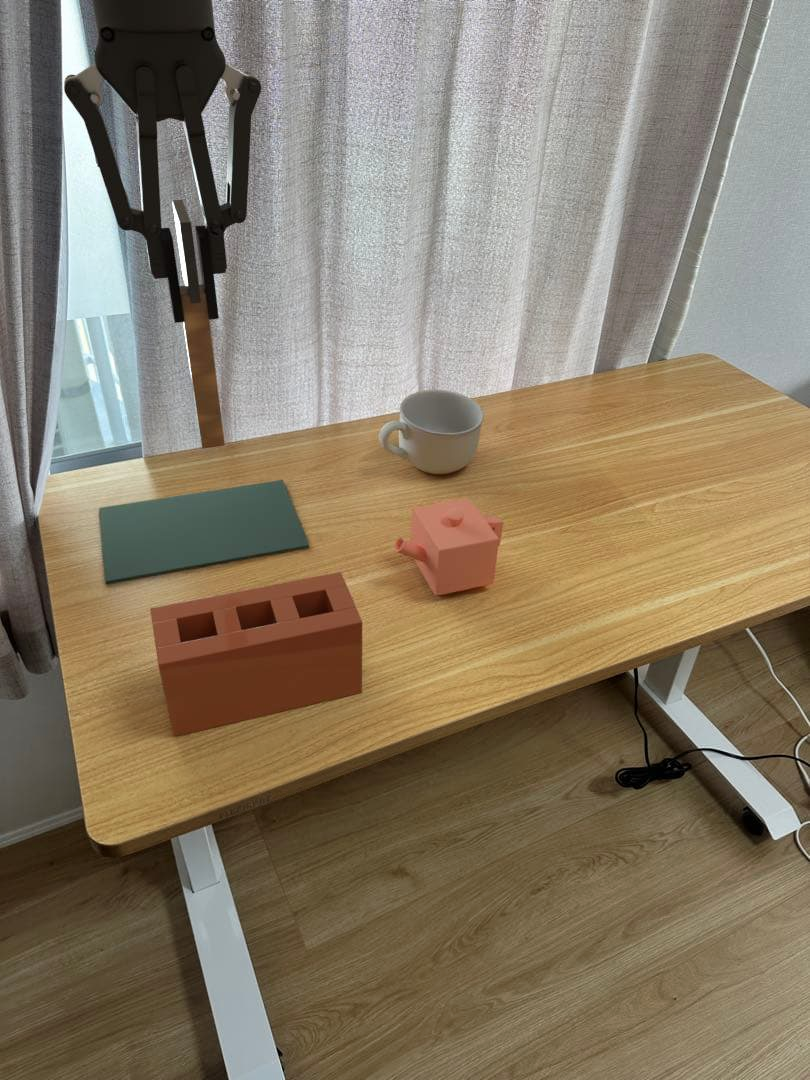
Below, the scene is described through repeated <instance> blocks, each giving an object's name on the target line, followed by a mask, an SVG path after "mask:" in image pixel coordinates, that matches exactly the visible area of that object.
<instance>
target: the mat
mask: <svg viewBox="0 0 810 1080" xmlns="http://www.w3.org/2000/svg"><path fill="white" fill-rule="evenodd" d="M98 510H99V521H100V522H99V523H100V533H101V535H100V536H101V544H102V545H101V547H102V548H101V549H102V559H103V568H104V569H103V571H104V583H105V585H108V584H115V583H120V582H126V581H131V580H137V579H142V578H148V577H154V576H159V575H165V574H171V573H176V572H181V571H187V570H192V569H199V568H205V567H210V566H216V565H220V564H227V563H232V562H237V561H243V560H248V559H253V558H259V557H265V556H271V555H275V554H282V553H287V552H293V551H299V550H305V549H309V548H310V543H309V541H308V538H307V536H306V533H305V531H304V529H303V526H302V524H301V521H300V519H299V516H298V514H297V511H296V509H295V507H294V504H293V501H292V499H291V497H290V494H289V491H288V489H287V486H286V484H285V482H284V480H283V479H277V480H271V481H267V482H266V481H265V482H259V483H251V484H245V485H240V486H232V487H225V488H219V489H213V490H206V491H200V492H194V493H187V494H180V495H175V496H174V495H173V496H167V497H161V498H155V499H149V500H141V501H135V502H129V503H122V504H116V505H108V506H102V507H98Z"/></svg>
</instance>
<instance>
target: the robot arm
mask: <svg viewBox="0 0 810 1080" xmlns="http://www.w3.org/2000/svg"><path fill="white" fill-rule="evenodd" d="M91 1H92V2H91V3H92V7H93V13H94V19H95V25H96V31H97V37H98V38H97V43H96V44H97V45H96V48H95V51H94V63H92V64H91V65H89V66H88V67H86V68H85V69H82V71H80V72H79V73H77V74H69V75H66V77H65V78H64V82H63V90H64V95H65V96H66V98H67V99H68V100H69V102H70V103H71V105H72V106H73V107H74V108H75V110H76V112H77V113H78V115H79V116H80V117H81V119H82V120H83V123H84V125H85V128H86V132H87V134H88V138H89V141H90V144H91V146H92V150H93V153H94V155H95V158H96V162H97V165H98V169H99V171H100V174H101V177H102V181H103V183H104V187H105V190H106V193H107V195H108V199H109V201H110V205H111V207H112V211H113V215H114V217H115V220H116V223H117V226H118V227H119V228H120V230H123V231H125V232H126V231H128V232H129V231H133V232H136V233H139V234H141V235H142V236H143V237H144V240H145V244H146V251H147V257H148V263H149V269H150V273H151V275H152V276H153V278H154V280H158V279H166V282H167V288H168V295H169V301H170V308H171V312H172V317H173V322H174V324H178V323H183V322H184V315H183V308H182V300H181V293H180V286H181V285H180V280H179V273H178V266H177V258H176V252H175V246H174V239H173V235H172V232H171V228H170V227H162V215H161V214H162V211H161V191H160V173H159V172H160V171H159V153H158V152H159V151H158V123H159V122H163V121H166V120H168V119H171V120H176V121H179V122H181V124H182V128H183V130H184V134H185V139H186V144H187V149H188V154H189V158H190V162H191V167H192V170H193V177H194V181H195V185H196V189H197V194H198V199H199V205H200V208H201V213H202V217H203V220H204V225H203V224H202V225H195V226H194V228H195V229H194V230H195V239H196V243H197V244H196V245H197V253H198V260H199V269H200V277H201V284H203V287H204V289H205V292H206V299H207V307H208V315H209V321H210V320H219V319H220V316H219V308H218V301H217V290H216V281H215V275H220V274H226V272H227V269H228V263H227V262H228V261H227V253H226V244H225V231H226V230H227V229H228V228H229V227H230V226H233V225H235V224H242V223H244V222H245V221H246V220H247V215H248V212H247V211H248V194H249V172H250V171H249V170H250V154H251V152H250V151H251V132H252V115H253V113H254V110H255V107H256V106H257V105H256V104H257V103H258V100H259V97H260V95H261V93H262V84H261V82H260V80H259V79H258V78H257V77H256V76H255V75H253V73H251V72H249V71H242V70H241V69H239V68H237V67H235V66H233V65H232V64H229V63H228V62H226V56H225V53H224V52H223V50H222V49H221V47H220V45H219V42H218V40H217V35H216V28H215V18H214V17H215V16H214V8H213V0H91ZM221 80H223V83H224V96H225V97H226V98H227V100H228V101H229V102H230V104H229V110H228V129H227V130H228V133H227V161H226V186H225V188H226V190H225V192H226V193H225V203H223V204H221V205H220V201H219V196H218V191H217V186H216V182H215V176H214V172H213V167H212V162H211V161H212V160H211V157H210V151H209V147H208V142H207V138H206V130H205V124H204V119H203V112H204V110H205V109H206V107H207V105H208V103H209V102H210V99H211V98H212V96H213V94H214V92H215V90H216V89H217V86H218V85H219V83H220V81H221ZM104 81H105V82H106V83H107V84H108V86H110V88H111V89H112V90H113V91H114V93H116V95H117V96H118V97H119V98H120V99H121V101H122V102H123V103H124V104H125V106H126V107H127V108H128V109H129V110H130V112H132V114H134V115H135V127H136V128H135V129H136V139H137V157H138V158H137V159H138V173H139V187H140V188H139V189H140V203H141V205H140V206H141V210H139V209H136V208H133V207H132V205H131V202H130V199H129V195H128V191H127V189H126V186H125V183H124V180H123V179H124V178H123V177H122V176H123V175H122V173H121V169H120V167H119V163H118V160H117V156H116V153H115V149H114V147H113V143H112V141H111V137H110V135H109V132H108V127H107V125H106V122H105V119H104V116H103V113H102V111H101V109H100V106H102V105H103V104H104V101H105V97H104V92H103V90H102V84H103V83H104Z"/></svg>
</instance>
